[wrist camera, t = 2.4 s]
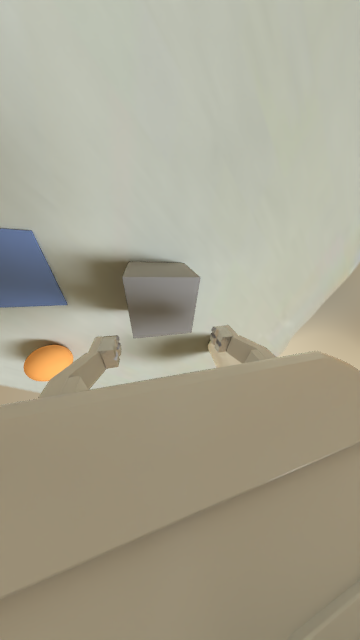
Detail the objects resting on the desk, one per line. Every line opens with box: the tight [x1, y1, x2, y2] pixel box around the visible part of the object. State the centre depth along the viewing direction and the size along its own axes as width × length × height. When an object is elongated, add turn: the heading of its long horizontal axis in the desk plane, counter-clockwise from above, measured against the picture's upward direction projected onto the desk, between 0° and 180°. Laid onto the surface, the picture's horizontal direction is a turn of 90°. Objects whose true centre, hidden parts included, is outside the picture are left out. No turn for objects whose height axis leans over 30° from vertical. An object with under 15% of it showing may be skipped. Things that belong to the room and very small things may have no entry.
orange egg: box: [24, 345, 73, 381], centre depth 19 cm, size 5×5×5 cm
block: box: [122, 261, 200, 338], centre depth 16 cm, size 7×7×6 cm
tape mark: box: [0, 229, 67, 307], centre depth 14 cm, size 8×8×1 cm
